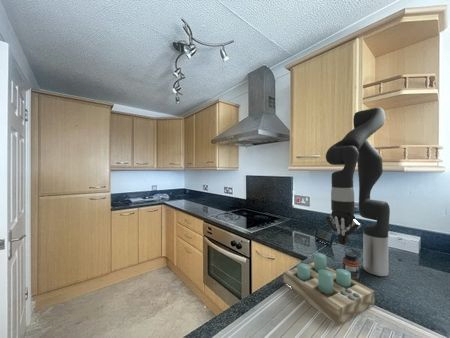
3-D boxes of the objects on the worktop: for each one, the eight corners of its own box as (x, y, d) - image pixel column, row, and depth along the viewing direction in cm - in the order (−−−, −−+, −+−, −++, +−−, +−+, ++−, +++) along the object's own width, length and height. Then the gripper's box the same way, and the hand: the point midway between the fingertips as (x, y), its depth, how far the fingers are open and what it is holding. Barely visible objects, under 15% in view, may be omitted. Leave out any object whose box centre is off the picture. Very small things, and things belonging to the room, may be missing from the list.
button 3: (324, 283, 72) (324, 268, 72) (336, 291, 68) (336, 274, 68) (315, 287, 70) (315, 271, 70) (327, 295, 66) (327, 278, 66)
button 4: (341, 282, 77) (341, 267, 77) (353, 289, 72) (353, 273, 72) (333, 285, 75) (333, 270, 75) (345, 293, 70) (345, 276, 70)
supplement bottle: (344, 274, 88) (343, 249, 88) (359, 279, 84) (359, 253, 84) (341, 280, 83) (341, 254, 83) (358, 285, 79) (358, 258, 79)
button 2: (319, 265, 86) (319, 252, 86) (329, 270, 81) (329, 256, 81) (311, 268, 84) (311, 254, 84) (321, 273, 79) (321, 259, 79)
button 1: (303, 276, 81) (302, 262, 81) (312, 282, 77) (312, 267, 77) (294, 279, 79) (294, 264, 79) (303, 285, 75) (303, 270, 75)
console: (316, 271, 90) (316, 260, 90) (374, 304, 68) (374, 289, 68) (283, 283, 81) (283, 271, 81) (338, 325, 60) (338, 308, 60)
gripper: (367, 200, 69) (367, 248, 69) (332, 195, 81) (333, 236, 81) (354, 202, 65) (355, 253, 66) (320, 197, 77) (321, 240, 78)
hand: (343, 244), depth 73 cm, fingers closed
